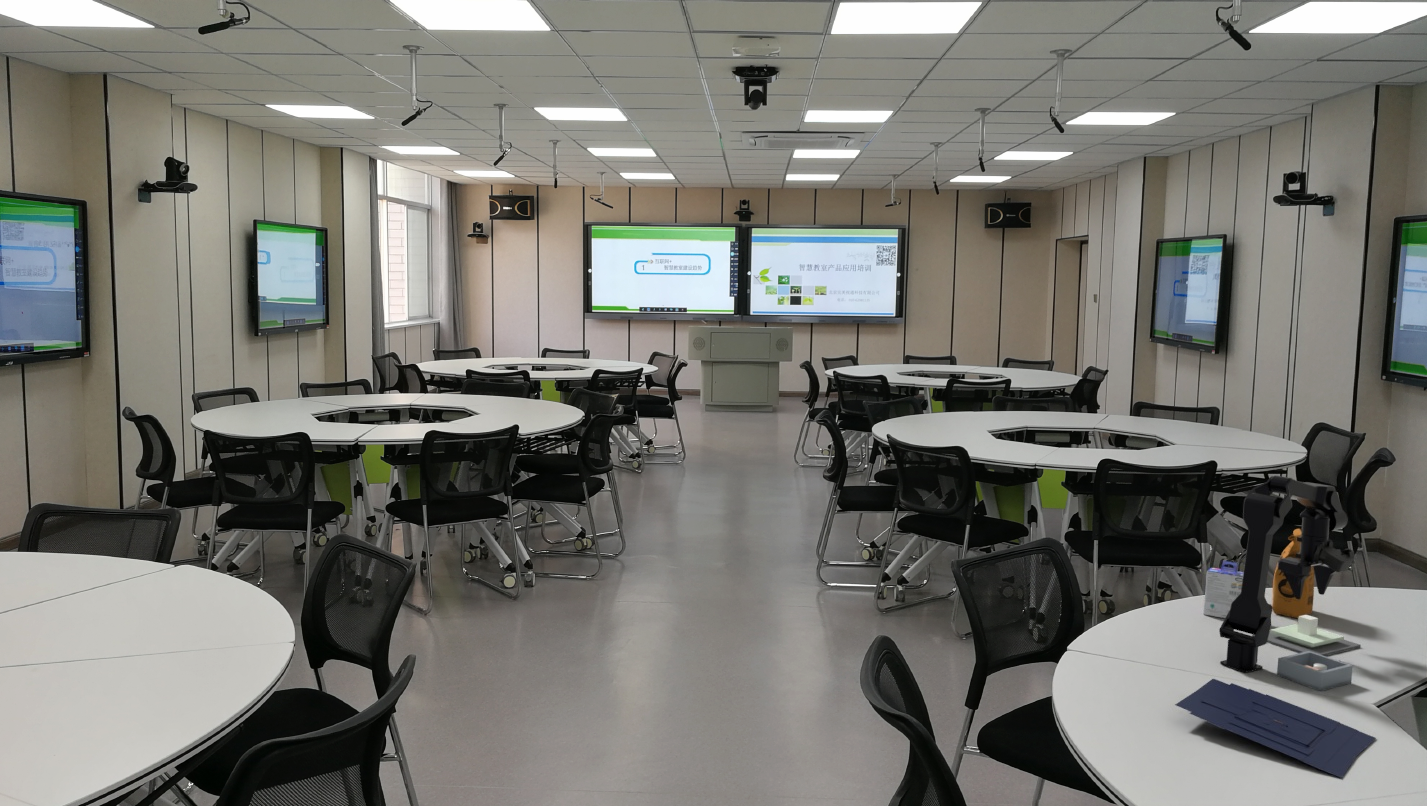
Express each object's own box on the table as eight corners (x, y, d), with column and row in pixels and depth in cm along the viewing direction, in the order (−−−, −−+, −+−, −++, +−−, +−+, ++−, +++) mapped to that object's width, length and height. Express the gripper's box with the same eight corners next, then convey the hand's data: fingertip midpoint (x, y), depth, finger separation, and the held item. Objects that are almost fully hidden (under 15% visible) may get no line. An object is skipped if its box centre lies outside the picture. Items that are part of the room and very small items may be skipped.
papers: (1213, 688, 218) (1217, 672, 217) (1373, 750, 197) (1377, 733, 196) (1168, 720, 201) (1171, 703, 200) (1337, 792, 180) (1342, 773, 179)
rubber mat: (1314, 658, 239) (1315, 656, 239) (1252, 637, 254) (1252, 635, 253) (1360, 647, 248) (1360, 644, 247) (1297, 627, 262) (1297, 625, 262)
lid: (1313, 650, 243) (1315, 627, 242) (1269, 636, 252) (1271, 614, 252) (1343, 643, 248) (1345, 620, 248) (1300, 629, 258) (1301, 607, 257)
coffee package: (1265, 613, 273) (1271, 533, 271) (1275, 602, 283) (1281, 525, 280) (1307, 621, 267) (1313, 539, 264) (1316, 610, 276) (1322, 531, 274)
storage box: (1320, 691, 219) (1322, 673, 219) (1276, 675, 228) (1278, 658, 228) (1351, 682, 224) (1352, 665, 224) (1307, 667, 233) (1308, 650, 233)
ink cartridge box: (1247, 617, 269) (1252, 564, 268) (1243, 622, 265) (1248, 568, 263) (1207, 610, 275) (1211, 557, 274) (1202, 615, 271) (1206, 562, 269)
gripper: (1323, 546, 236) (1318, 611, 238) (1371, 538, 245) (1365, 600, 246) (1278, 535, 246) (1273, 598, 248) (1325, 528, 254) (1320, 588, 256)
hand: (1309, 596), depth 249 cm, fingers open, 9 cm apart
